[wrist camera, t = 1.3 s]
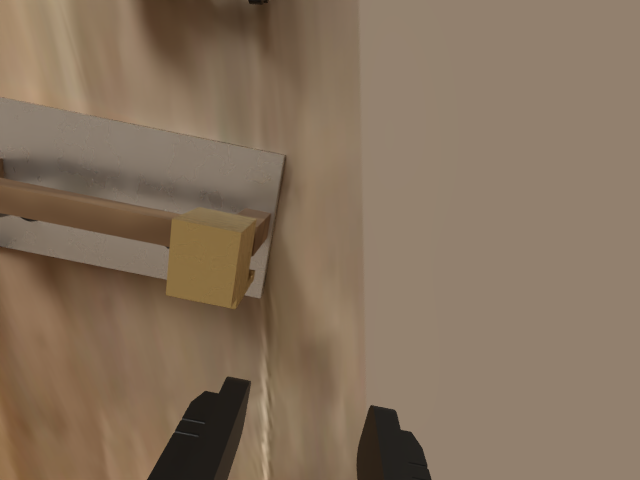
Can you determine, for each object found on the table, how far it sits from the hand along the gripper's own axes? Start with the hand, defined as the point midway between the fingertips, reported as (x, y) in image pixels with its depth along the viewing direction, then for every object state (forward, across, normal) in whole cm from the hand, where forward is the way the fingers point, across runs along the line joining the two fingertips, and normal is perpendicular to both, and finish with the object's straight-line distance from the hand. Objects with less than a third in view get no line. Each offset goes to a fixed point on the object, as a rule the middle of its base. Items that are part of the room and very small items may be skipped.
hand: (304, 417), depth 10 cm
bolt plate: (+23, +19, 0) cm, 30 cm away
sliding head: (+22, +7, 0) cm, 23 cm away
